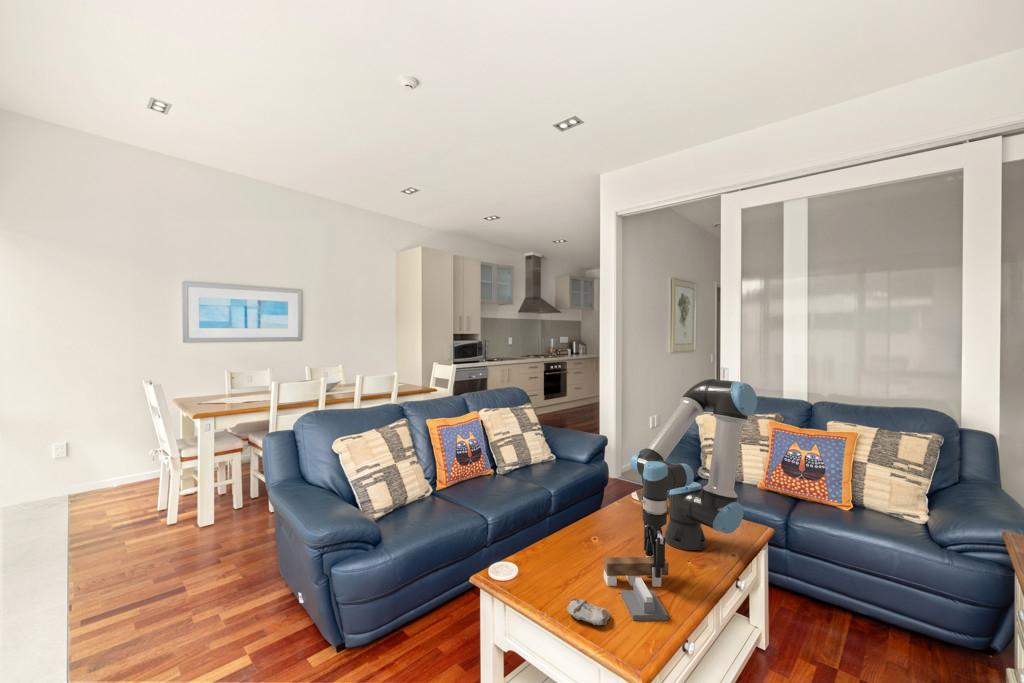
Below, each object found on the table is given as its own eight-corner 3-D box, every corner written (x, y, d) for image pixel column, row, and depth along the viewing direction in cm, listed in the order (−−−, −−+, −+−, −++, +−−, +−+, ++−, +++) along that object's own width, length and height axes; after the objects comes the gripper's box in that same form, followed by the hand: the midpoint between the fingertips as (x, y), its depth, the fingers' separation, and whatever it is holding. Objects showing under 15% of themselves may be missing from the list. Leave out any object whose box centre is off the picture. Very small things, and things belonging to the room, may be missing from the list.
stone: (562, 619, 124) (562, 607, 124) (573, 602, 132) (574, 591, 132) (602, 633, 118) (603, 621, 118) (612, 615, 126) (612, 603, 126)
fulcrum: (652, 594, 136) (653, 575, 136) (667, 620, 124) (668, 599, 124) (621, 595, 135) (621, 576, 135) (633, 620, 123) (633, 599, 123)
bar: (663, 568, 145) (663, 556, 145) (668, 575, 141) (668, 563, 141) (604, 569, 145) (604, 557, 145) (607, 575, 141) (607, 563, 141)
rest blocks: (634, 577, 146) (635, 568, 146) (639, 585, 141) (639, 576, 141) (603, 577, 145) (603, 568, 145) (607, 586, 140) (607, 576, 140)
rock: (662, 506, 207) (662, 485, 206) (665, 517, 194) (665, 494, 194) (635, 504, 209) (635, 483, 209) (636, 514, 197) (636, 492, 197)
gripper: (634, 499, 152) (633, 566, 152) (653, 522, 134) (651, 597, 134) (655, 499, 152) (654, 566, 153) (677, 522, 134) (675, 597, 134)
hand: (653, 580), depth 143 cm, fingers open, 5 cm apart
